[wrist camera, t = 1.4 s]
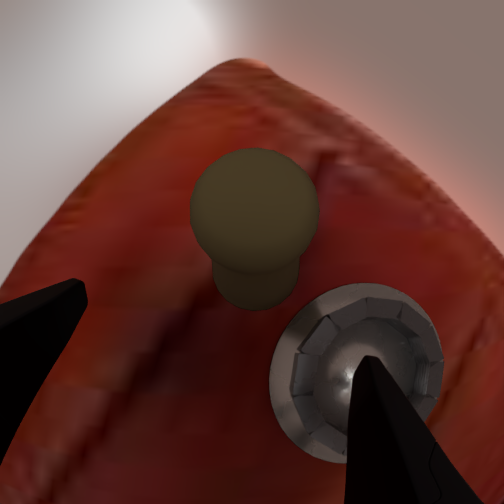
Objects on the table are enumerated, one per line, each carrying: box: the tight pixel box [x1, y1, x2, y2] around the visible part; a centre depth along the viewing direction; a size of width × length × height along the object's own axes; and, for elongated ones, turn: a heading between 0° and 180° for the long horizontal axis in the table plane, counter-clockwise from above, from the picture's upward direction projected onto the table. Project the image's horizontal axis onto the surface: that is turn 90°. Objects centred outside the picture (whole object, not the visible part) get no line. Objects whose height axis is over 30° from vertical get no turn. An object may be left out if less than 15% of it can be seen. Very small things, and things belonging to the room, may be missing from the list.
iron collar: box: [269, 283, 444, 463], centre depth 17 cm, size 13×13×3 cm
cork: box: [190, 148, 320, 311], centre depth 16 cm, size 6×6×11 cm
